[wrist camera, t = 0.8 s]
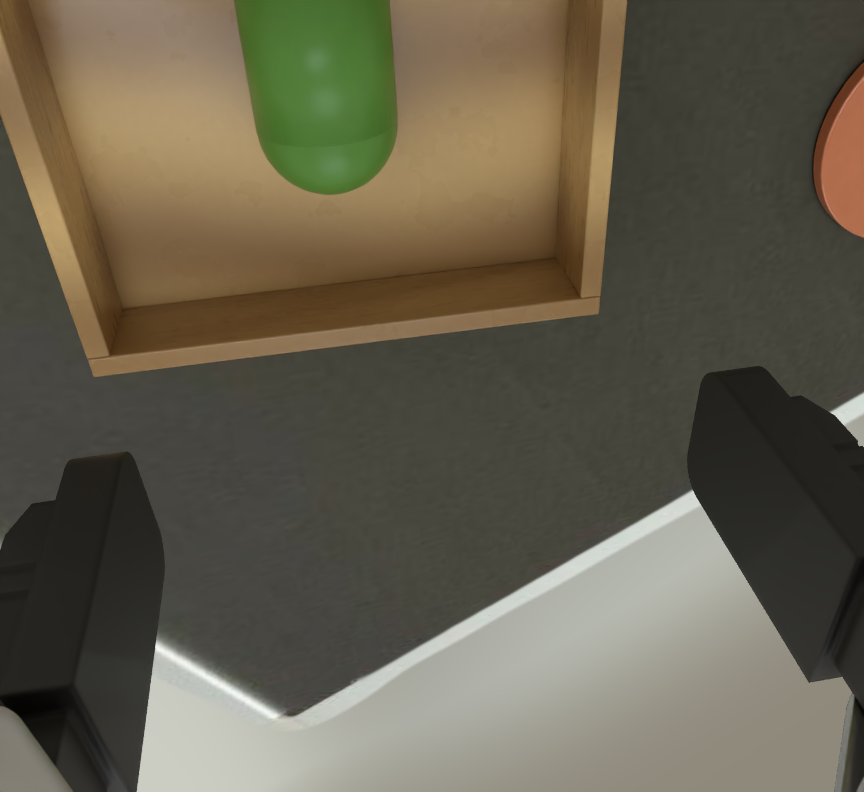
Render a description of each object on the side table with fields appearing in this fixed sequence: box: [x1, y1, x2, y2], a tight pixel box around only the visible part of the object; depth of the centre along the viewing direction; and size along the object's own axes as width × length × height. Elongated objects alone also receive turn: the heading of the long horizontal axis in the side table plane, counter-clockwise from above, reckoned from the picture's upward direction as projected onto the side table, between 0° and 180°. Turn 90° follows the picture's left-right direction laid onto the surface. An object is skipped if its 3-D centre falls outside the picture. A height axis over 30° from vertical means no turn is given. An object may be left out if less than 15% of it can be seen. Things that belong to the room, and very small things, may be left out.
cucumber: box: [234, 0, 398, 195], centre depth 22 cm, size 8×4×4 cm, turn 3°
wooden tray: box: [0, 0, 627, 377], centre depth 23 cm, size 17×16×4 cm
